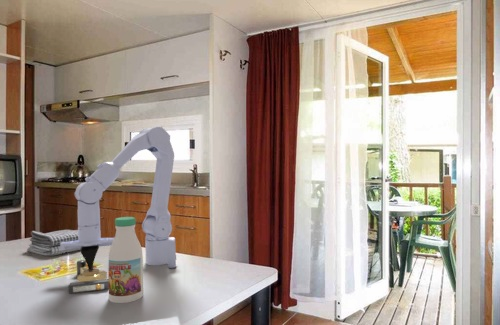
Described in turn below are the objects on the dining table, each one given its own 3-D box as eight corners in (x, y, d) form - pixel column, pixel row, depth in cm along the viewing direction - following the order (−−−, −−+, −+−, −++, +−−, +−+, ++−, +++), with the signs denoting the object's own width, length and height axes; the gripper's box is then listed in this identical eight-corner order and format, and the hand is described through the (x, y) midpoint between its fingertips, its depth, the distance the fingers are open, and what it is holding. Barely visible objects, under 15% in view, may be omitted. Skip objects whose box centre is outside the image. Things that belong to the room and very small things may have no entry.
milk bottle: (114, 296, 85) (113, 215, 85) (146, 295, 86) (145, 215, 86) (104, 309, 78) (102, 221, 77) (139, 308, 78) (138, 220, 78)
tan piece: (110, 283, 90) (110, 270, 90) (81, 290, 86) (81, 276, 86) (93, 270, 102) (93, 258, 102) (67, 275, 97) (66, 263, 97)
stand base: (130, 274, 102) (130, 263, 102) (127, 294, 87) (127, 280, 87) (70, 280, 97) (70, 268, 97) (56, 302, 82) (56, 288, 82)
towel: (51, 258, 122) (50, 236, 122) (25, 251, 132) (25, 231, 132) (91, 249, 135) (90, 228, 135) (65, 243, 144) (64, 224, 144)
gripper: (57, 229, 91) (58, 280, 91) (115, 225, 95) (117, 274, 96) (62, 225, 98) (64, 272, 98) (117, 221, 102) (118, 266, 102)
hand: (90, 272), depth 97 cm, fingers closed, pressing on tan piece
